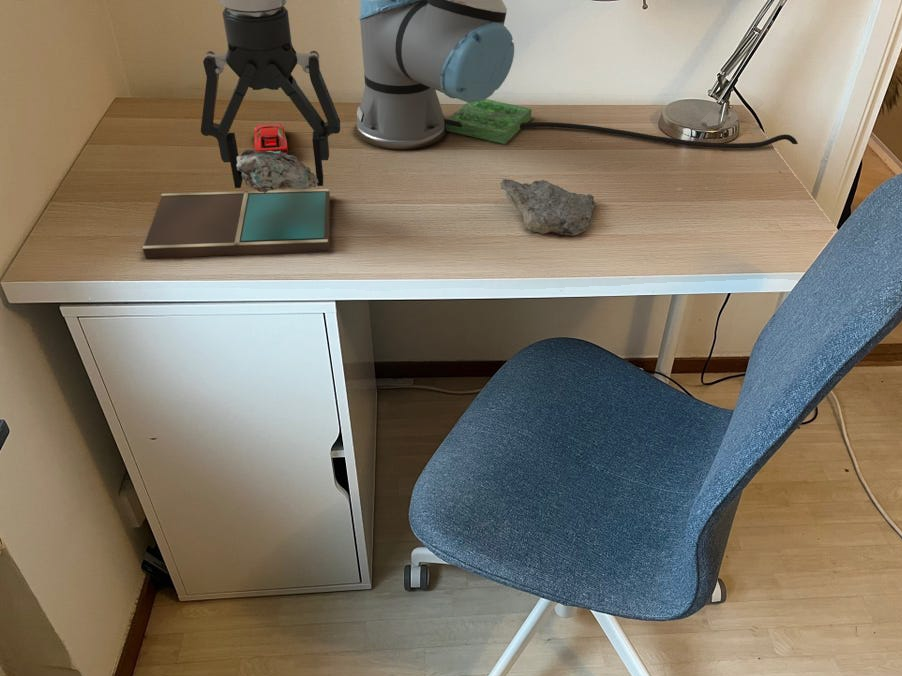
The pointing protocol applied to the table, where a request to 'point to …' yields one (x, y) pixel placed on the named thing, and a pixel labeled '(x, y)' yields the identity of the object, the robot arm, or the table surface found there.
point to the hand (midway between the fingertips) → (279, 182)
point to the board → (239, 223)
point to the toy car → (270, 138)
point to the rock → (550, 207)
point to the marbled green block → (490, 120)
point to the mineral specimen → (274, 171)
